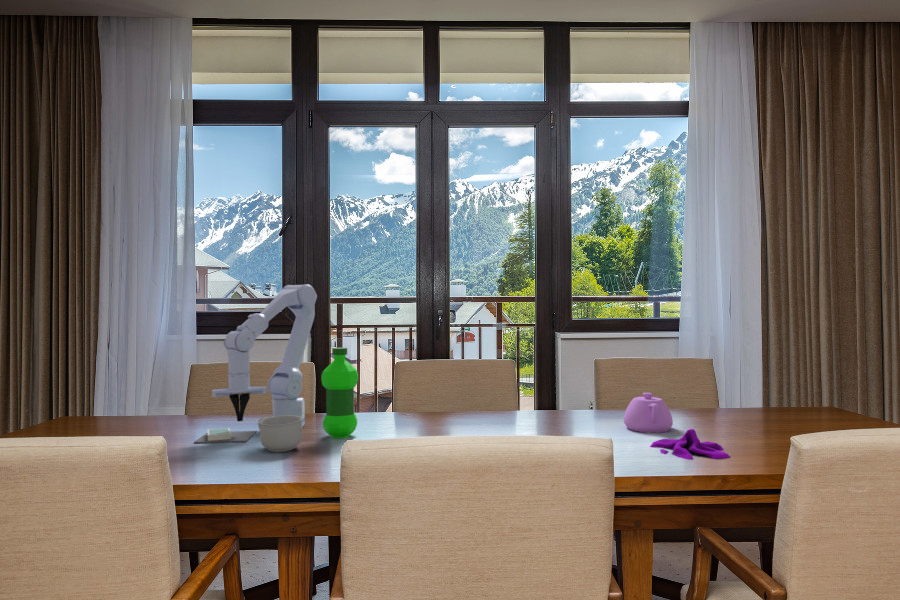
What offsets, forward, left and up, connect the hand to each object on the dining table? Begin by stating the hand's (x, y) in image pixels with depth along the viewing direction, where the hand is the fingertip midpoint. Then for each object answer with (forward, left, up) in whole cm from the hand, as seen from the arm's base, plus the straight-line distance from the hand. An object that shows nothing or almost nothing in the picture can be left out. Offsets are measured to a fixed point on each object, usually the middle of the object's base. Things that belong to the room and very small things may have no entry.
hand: (239, 420), depth 179 cm
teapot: (-119, +3, -5) cm, 119 cm away
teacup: (-14, +16, -5) cm, 22 cm away
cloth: (-117, +33, -5) cm, 122 cm away
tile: (+2, +1, -3) cm, 4 cm away
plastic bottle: (-29, +3, -5) cm, 29 cm away
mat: (+3, +1, -5) cm, 6 cm away
